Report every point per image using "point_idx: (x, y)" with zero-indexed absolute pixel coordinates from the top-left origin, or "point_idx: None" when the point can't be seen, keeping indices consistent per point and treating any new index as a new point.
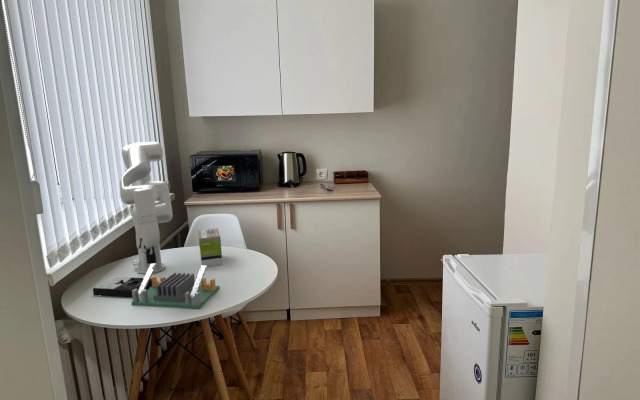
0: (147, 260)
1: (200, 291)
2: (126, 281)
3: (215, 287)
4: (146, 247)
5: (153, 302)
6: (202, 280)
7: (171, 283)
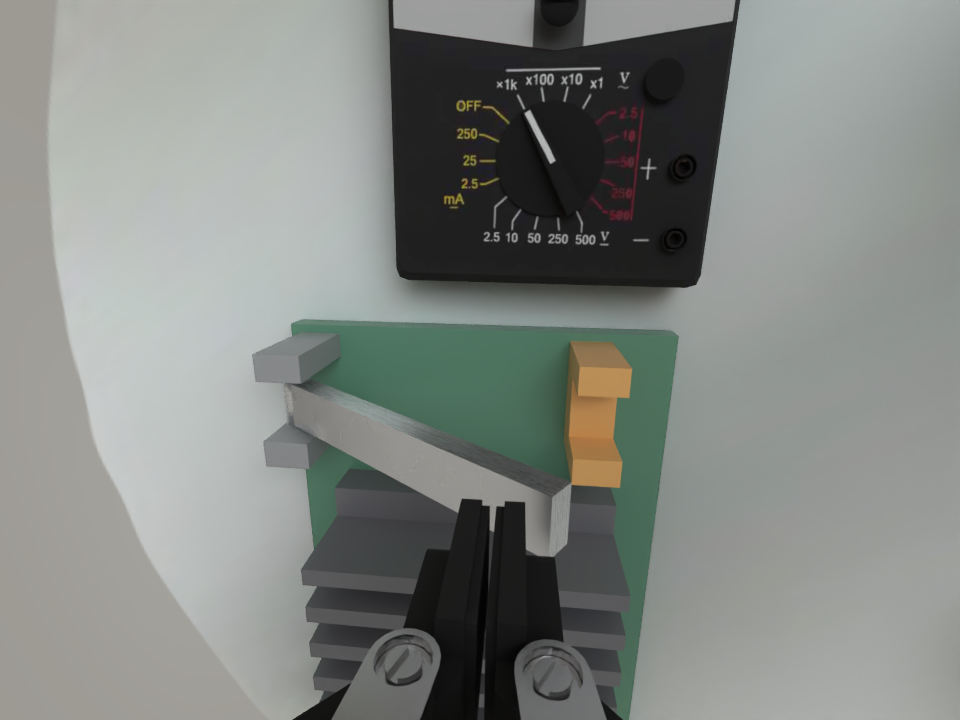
0: (423, 560)
1: None
2: (602, 39)
3: None
4: None
5: (318, 482)
6: None
7: None
